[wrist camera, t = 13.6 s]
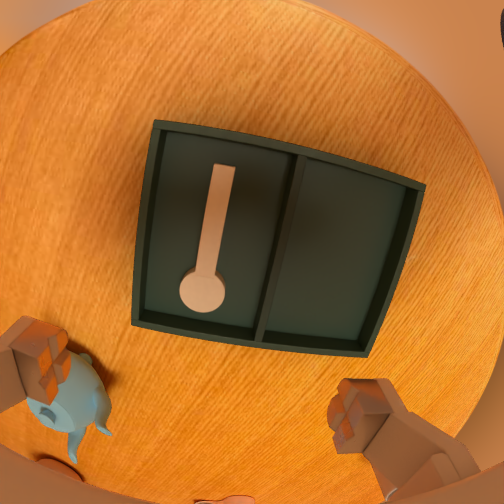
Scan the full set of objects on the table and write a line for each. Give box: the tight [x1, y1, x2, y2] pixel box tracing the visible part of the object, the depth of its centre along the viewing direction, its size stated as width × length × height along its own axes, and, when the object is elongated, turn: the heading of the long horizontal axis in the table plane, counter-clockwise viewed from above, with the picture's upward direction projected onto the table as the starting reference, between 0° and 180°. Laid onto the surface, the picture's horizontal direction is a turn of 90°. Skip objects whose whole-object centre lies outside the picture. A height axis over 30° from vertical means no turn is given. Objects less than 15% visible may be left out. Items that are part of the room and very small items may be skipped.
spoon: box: [179, 163, 235, 312], centre depth 28 cm, size 14×4×2 cm, turn 168°
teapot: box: [26, 350, 112, 464], centre depth 29 cm, size 13×13×10 cm
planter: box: [36, 459, 82, 481], centre depth 37 cm, size 12×12×11 cm
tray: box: [131, 119, 426, 358], centre depth 29 cm, size 20×26×3 cm
